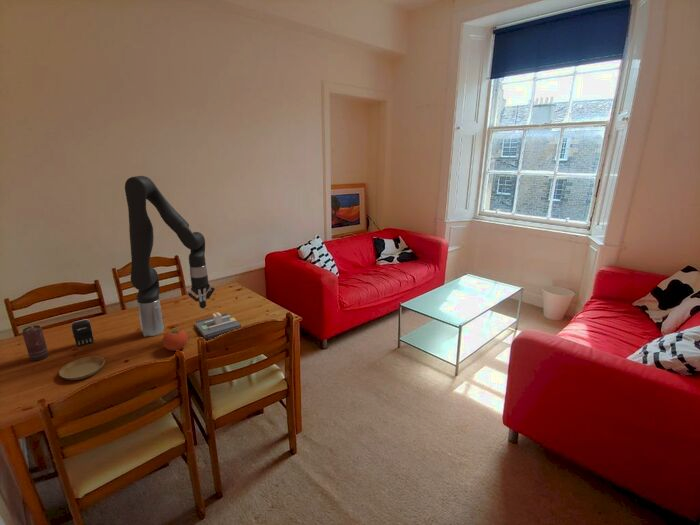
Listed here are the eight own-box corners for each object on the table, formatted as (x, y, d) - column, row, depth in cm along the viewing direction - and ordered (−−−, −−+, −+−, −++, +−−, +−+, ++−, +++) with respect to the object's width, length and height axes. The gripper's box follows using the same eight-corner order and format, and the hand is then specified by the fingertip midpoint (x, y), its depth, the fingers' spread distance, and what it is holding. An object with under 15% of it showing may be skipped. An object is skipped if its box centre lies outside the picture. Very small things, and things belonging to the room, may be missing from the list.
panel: (205, 338, 168) (204, 332, 167) (195, 326, 179) (194, 321, 178) (241, 328, 179) (240, 322, 178) (230, 317, 190) (229, 312, 189)
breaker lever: (216, 325, 176) (215, 316, 174) (213, 322, 179) (212, 313, 177) (222, 324, 177) (221, 314, 176) (219, 321, 180) (218, 311, 179)
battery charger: (76, 348, 157) (70, 325, 154) (75, 344, 160) (70, 322, 156) (95, 343, 162) (90, 320, 158) (94, 339, 164) (89, 317, 161)
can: (46, 351, 154) (39, 323, 149) (50, 357, 150) (42, 328, 146) (28, 357, 149) (20, 328, 145) (31, 363, 145) (23, 333, 141)
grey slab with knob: (208, 340, 167) (208, 336, 166) (196, 324, 181) (195, 321, 180) (241, 330, 176) (240, 327, 176) (226, 316, 191) (226, 313, 190)
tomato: (172, 357, 152) (169, 337, 149) (159, 350, 157) (156, 330, 154) (193, 347, 160) (191, 327, 157) (180, 340, 165) (177, 321, 162)
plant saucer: (79, 386, 133) (78, 380, 132) (50, 379, 136) (49, 373, 135) (114, 365, 146) (113, 359, 145) (87, 359, 150) (86, 353, 149)
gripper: (186, 279, 159) (191, 314, 164) (215, 273, 167) (219, 306, 172) (181, 275, 164) (186, 308, 170) (210, 269, 172) (214, 301, 178)
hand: (203, 307), depth 171 cm, fingers closed
